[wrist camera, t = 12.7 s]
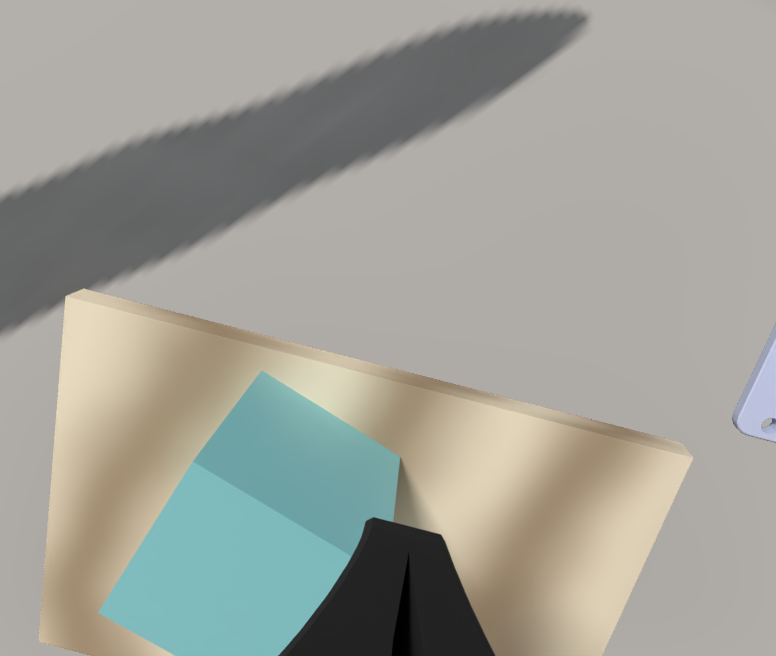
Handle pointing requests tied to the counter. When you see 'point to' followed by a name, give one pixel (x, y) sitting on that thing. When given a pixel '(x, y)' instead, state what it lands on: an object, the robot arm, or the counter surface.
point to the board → (382, 424)
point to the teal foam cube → (255, 529)
